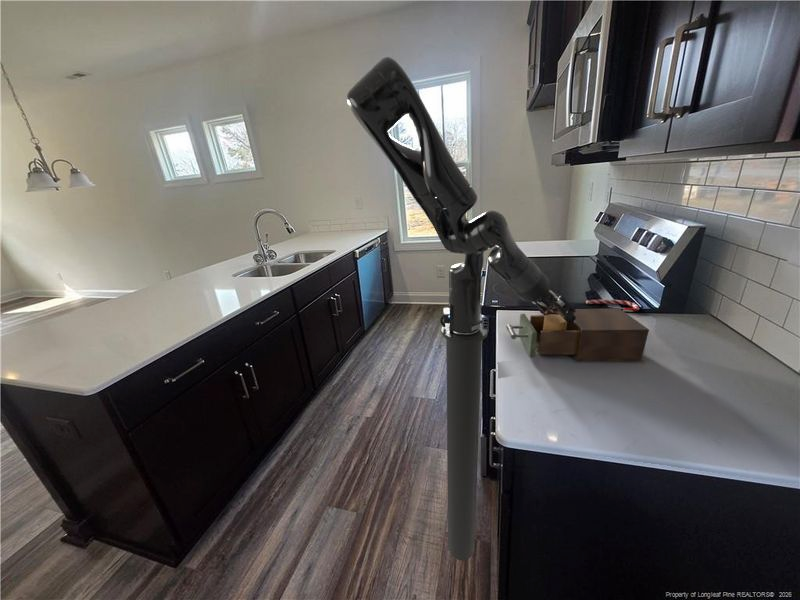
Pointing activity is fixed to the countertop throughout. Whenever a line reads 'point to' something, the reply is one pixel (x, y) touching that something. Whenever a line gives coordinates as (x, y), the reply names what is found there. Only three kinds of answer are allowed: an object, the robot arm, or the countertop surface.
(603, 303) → the candy cane
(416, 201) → the robot arm
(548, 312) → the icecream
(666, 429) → the countertop surface
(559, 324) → the cookie roll
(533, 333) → the drawer
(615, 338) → the cabinet
